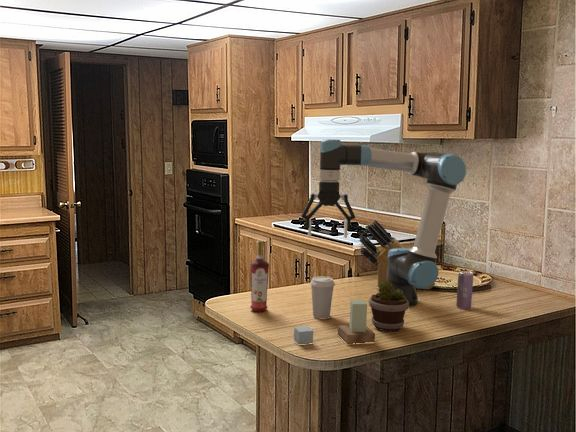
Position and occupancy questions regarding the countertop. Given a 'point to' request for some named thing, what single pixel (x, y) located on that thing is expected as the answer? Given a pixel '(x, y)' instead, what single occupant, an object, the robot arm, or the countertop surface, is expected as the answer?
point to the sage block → (358, 315)
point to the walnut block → (355, 335)
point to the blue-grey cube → (303, 335)
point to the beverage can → (464, 290)
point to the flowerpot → (388, 307)
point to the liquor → (259, 280)
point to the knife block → (382, 254)
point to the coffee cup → (322, 296)
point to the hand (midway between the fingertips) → (327, 237)
